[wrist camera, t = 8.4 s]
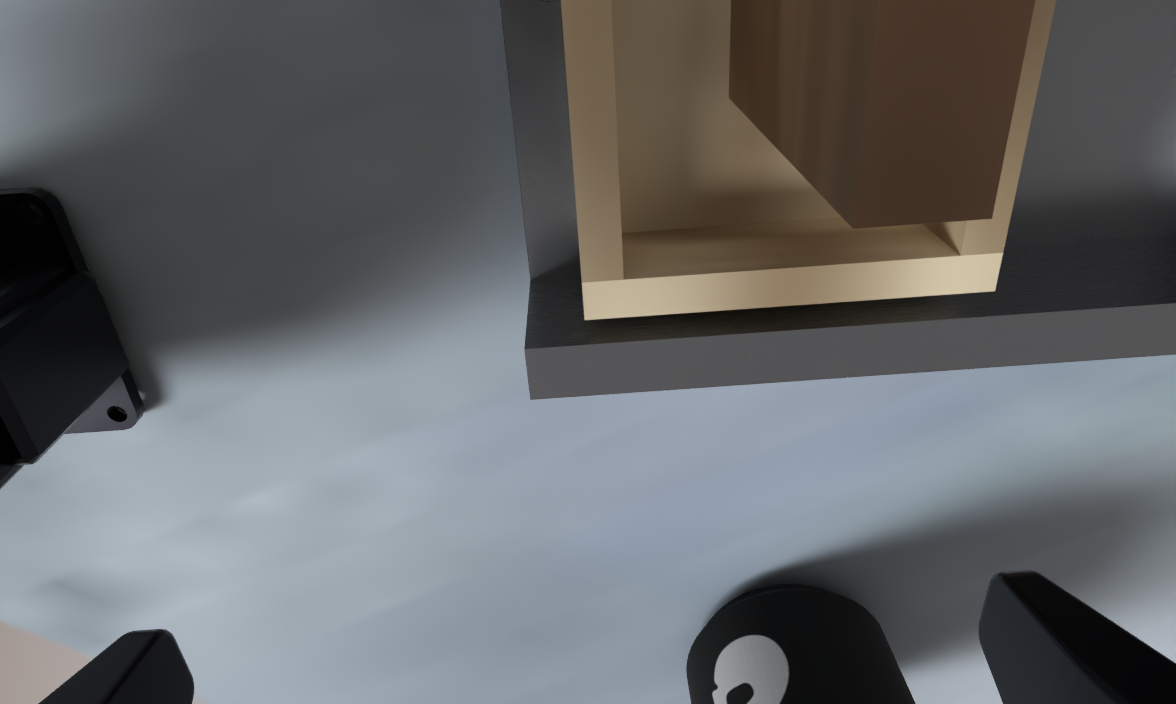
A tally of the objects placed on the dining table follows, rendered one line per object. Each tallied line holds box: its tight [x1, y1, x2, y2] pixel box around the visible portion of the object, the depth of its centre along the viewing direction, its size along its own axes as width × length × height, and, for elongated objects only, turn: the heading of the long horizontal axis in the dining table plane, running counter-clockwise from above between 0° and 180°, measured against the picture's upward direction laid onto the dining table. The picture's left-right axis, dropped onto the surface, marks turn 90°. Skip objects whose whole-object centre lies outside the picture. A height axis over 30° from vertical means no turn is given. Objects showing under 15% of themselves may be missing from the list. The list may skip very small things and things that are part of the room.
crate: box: [561, 0, 1056, 320], centre depth 12 cm, size 8×10×8 cm
